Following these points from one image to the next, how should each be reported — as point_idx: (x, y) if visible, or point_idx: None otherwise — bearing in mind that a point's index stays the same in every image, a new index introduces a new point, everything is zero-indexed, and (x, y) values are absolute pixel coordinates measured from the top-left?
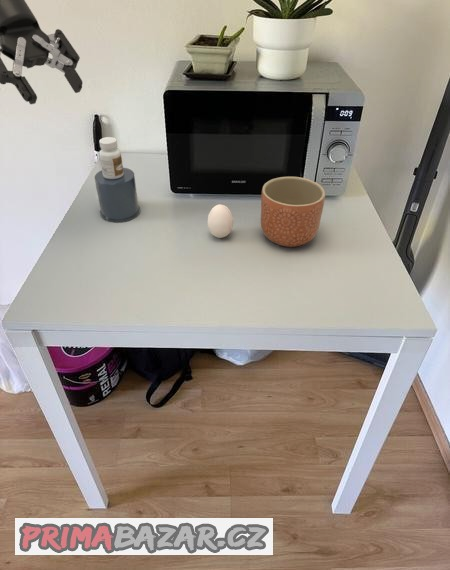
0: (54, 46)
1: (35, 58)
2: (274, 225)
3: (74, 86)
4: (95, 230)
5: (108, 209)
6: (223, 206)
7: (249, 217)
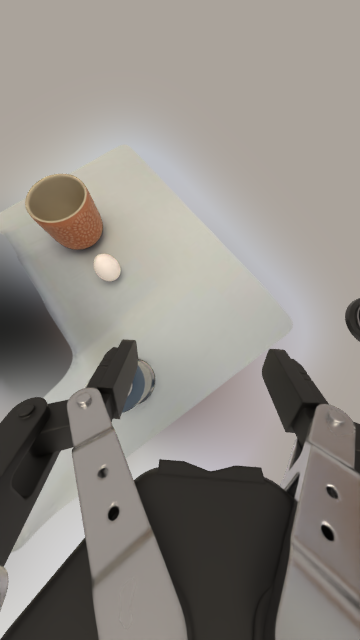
0: (5, 593)
1: (222, 471)
2: (97, 216)
3: (134, 363)
4: (174, 373)
5: (150, 375)
6: (99, 255)
7: (71, 274)
